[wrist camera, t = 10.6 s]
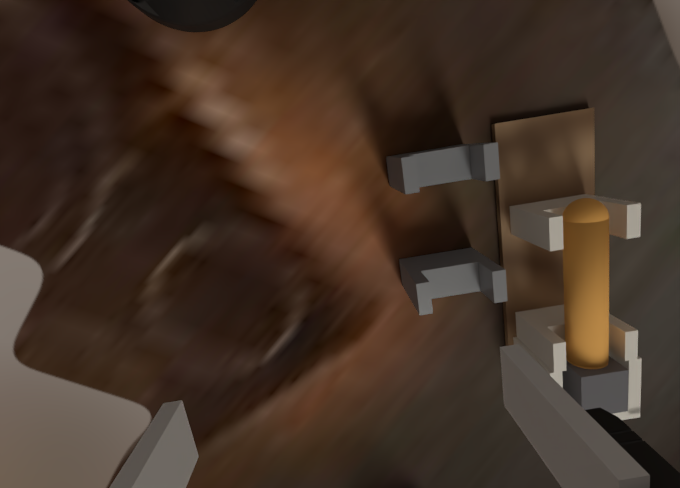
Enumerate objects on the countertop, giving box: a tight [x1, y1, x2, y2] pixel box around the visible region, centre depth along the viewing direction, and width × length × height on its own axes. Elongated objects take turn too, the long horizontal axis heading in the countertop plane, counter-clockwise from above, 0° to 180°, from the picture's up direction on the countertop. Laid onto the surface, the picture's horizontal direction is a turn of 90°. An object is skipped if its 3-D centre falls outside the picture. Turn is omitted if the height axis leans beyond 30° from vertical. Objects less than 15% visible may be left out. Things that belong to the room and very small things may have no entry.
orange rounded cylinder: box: [562, 198, 629, 414], centre depth 37 cm, size 20×4×4 cm, turn 9°
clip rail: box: [491, 108, 595, 346], centre depth 43 cm, size 30×10×1 cm, turn 9°
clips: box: [509, 194, 642, 420], centre depth 40 cm, size 22×9×7 cm, turn 9°
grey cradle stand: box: [386, 142, 508, 315], centre depth 38 cm, size 14×8×8 cm, turn 9°
